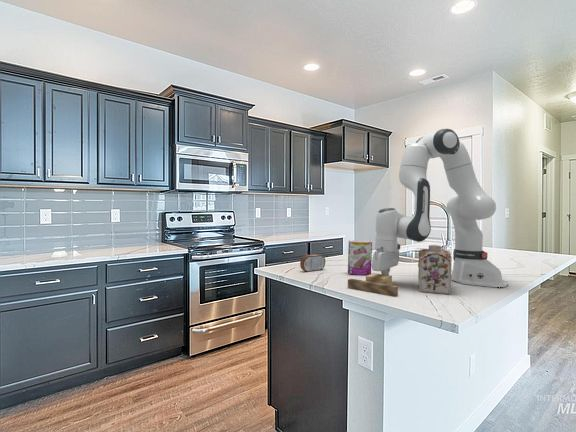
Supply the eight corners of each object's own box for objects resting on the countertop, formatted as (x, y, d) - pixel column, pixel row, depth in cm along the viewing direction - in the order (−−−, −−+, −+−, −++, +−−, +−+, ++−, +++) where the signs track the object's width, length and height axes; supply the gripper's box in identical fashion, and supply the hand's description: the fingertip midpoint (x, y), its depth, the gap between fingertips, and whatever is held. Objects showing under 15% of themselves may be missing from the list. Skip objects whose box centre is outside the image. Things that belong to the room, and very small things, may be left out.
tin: (322, 268, 179) (322, 253, 179) (326, 269, 177) (326, 253, 177) (299, 271, 171) (299, 255, 171) (303, 273, 168) (303, 256, 168)
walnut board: (397, 295, 128) (398, 286, 128) (395, 296, 126) (395, 287, 126) (350, 286, 141) (350, 278, 141) (347, 287, 139) (347, 279, 139)
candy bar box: (348, 275, 164) (348, 241, 164) (347, 272, 169) (348, 240, 169) (371, 275, 163) (372, 241, 163) (370, 273, 168) (370, 240, 168)
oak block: (391, 287, 141) (391, 275, 141) (384, 291, 134) (384, 278, 134) (373, 284, 146) (373, 273, 145) (365, 288, 139) (365, 276, 139)
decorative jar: (448, 288, 140) (449, 244, 140) (451, 295, 129) (452, 248, 129) (417, 285, 144) (418, 243, 144) (418, 291, 134) (419, 246, 133)
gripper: (383, 249, 134) (382, 284, 134) (402, 245, 149) (401, 276, 150) (368, 247, 138) (367, 281, 138) (388, 243, 153) (387, 274, 154)
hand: (385, 278), depth 144 cm, fingers closed
